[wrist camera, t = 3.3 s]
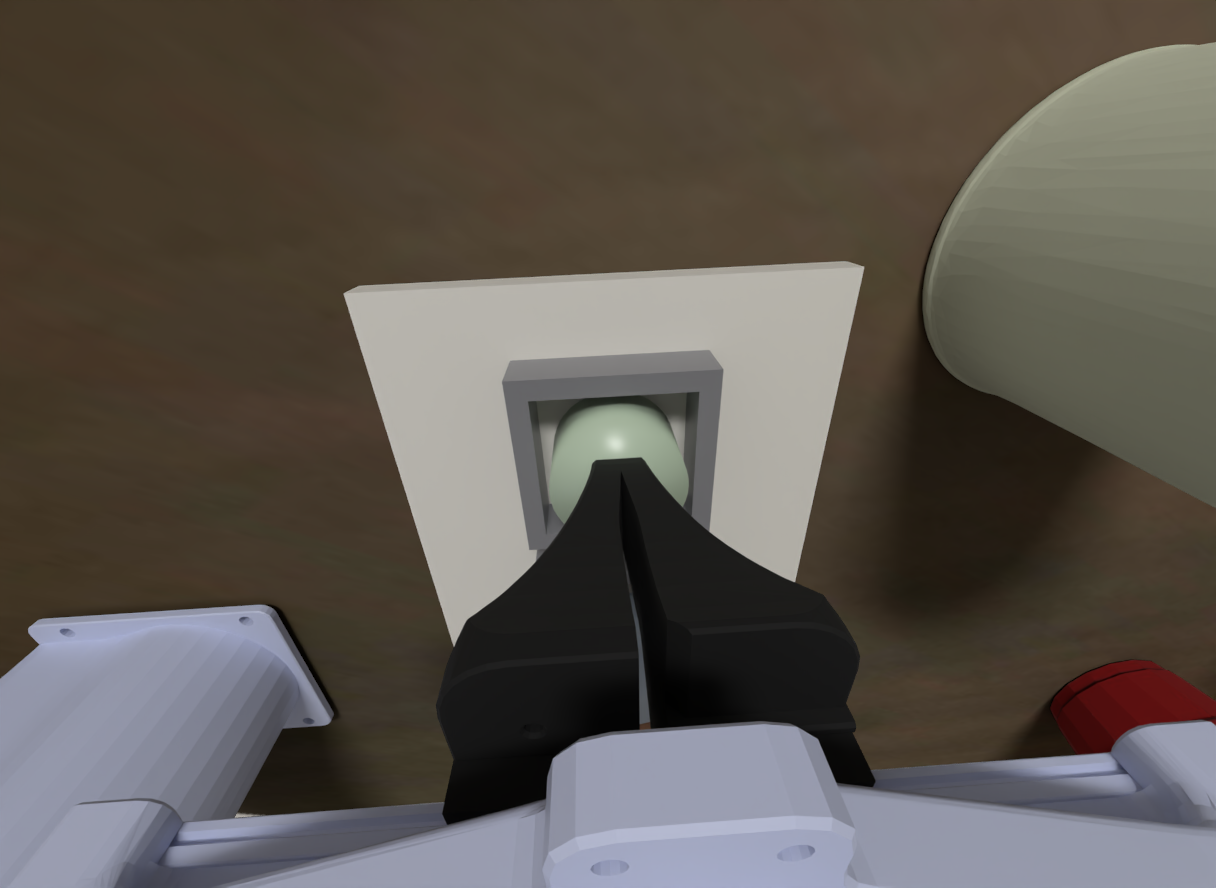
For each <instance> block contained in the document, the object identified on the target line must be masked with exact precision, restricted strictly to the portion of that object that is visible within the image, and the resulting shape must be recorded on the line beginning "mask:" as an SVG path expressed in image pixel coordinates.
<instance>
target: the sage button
mask: <svg viewBox="0 0 1216 888" xmlns="http://www.w3.org/2000/svg"><path fill="white" fill-rule="evenodd" d="M637 457H641V458H643V459H644V460H645V461H646V463H647V465H648V466H649V468H650V469H651V470H652V472H653V473H654V475H655V476H656V477H657V478H658V480H659V481H660V482H661V484H662V485H663V486H664V487H665V488H666V490H667V491H668V492H669V493H670V494H671V495H672V496H673V497H674V499H675V500H676V501H677V502H678V503H679V504H680V505H681V506H682V507H683V505H684V503H685V501H686V498H687V494H688V488H689V478H688V473H687V469H686V466H685V464H684V461H683V458H682V455H681V452H680V450H679V447H678V444H677V441H676V438H675V436H674V433H673V430H672V427H671V424H670V422H669V420H668V418H667V416H666V415H665V414H664V412H663V411H662V410H661V409H660V408H659V407H658V406H657V405H656V404H654V403H653V402H652V401H650V400H649V399H647V398H645V397H643V396H640V395H633V396H616V397H598V398H584V399H582V400H580V401H579V402H577V403H576V404H575V405H573V406H572V407H571V408H570V409H569V410H568V411H567V412H566V413H565V415H564V416H563V417H562V419H561V420H560V422H559V424H558V426H557V429H556V432H555V436H554V444H553V454H552V463H551V473H550V482H549V495H550V500H551V504H552V506H553V509H554V511H555V513H556V514H557V516H558V517H559V518H560V520H561V521H562V522H563V523H564V524H565V523H566V521H567V519H568V518H569V516H570V514H571V513H572V511H573V509H574V508H575V506H576V504H577V502H578V500H579V498H580V496H581V494H582V492H583V490H584V487H585V485H586V483H587V480H588V477H589V475H590V471H591V467H592V463H593V462H594V461H595V460H604V459H620V458H637Z"/></svg>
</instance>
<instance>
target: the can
mask: <svg viewBox="0 0 1216 888" xmlns="http://www.w3.org/2000/svg"><path fill="white" fill-rule="evenodd" d="M922 310H923V318H924V326H925V330H926V334H927V338H928V340H929V342H930V344H931V347H932V349H933V351H934V353H935V355H936V357H937V358H938V359H939V361H940V362H941V363H942V365H943V366H944V367H945V368H946V369H947V370H948V372H949V373H951V374H952V375H953V376H954V377H955V378H957V379H958V380H960V381H961V382H963V383H965V384H966V385H968V386H970V387H972V388H974V389H977V390H979V391H982V392H985V393H989V394H993V395H997V396H999V397H1001V398H1004V399H1006V400H1008V401H1010V402H1012V403H1014V404H1016V405H1019V406H1020V407H1022V408H1024V409H1026V410H1028V411H1030V412H1032V413H1034V414H1036V415H1038V416H1040V417H1042V418H1044V419H1046V420H1048V421H1050V422H1052V423H1054V424H1056V425H1058V426H1059V427H1061V428H1063V429H1065V430H1067V431H1069V432H1071V433H1073V434H1075V435H1077V436H1079V437H1081V438H1083V439H1085V440H1087V441H1089V442H1090V443H1092V444H1094V445H1096V446H1098V447H1100V448H1102V449H1104V450H1106V451H1108V452H1110V453H1111V454H1113V455H1115V456H1117V457H1119V458H1121V459H1123V460H1125V461H1127V462H1129V463H1131V464H1132V465H1134V466H1136V467H1138V468H1140V469H1142V470H1144V471H1146V472H1148V473H1150V474H1152V475H1153V476H1155V477H1157V478H1159V479H1161V480H1163V481H1165V482H1167V483H1169V484H1171V485H1173V486H1174V487H1176V488H1178V489H1180V490H1182V491H1184V492H1186V493H1188V494H1190V495H1192V496H1194V497H1195V498H1197V499H1199V500H1201V501H1203V502H1205V503H1207V504H1209V505H1211V506H1213V507H1215V508H1216V42H1215V43H1209V44H1203V45H1171V46H1163V47H1157V48H1151V49H1147V50H1143V51H1139V52H1135V53H1132V54H1129V55H1126V56H1122V57H1120V58H1117V59H1115V60H1112V61H1110V62H1107V63H1105V64H1102V65H1100V66H1098V67H1096V68H1094V69H1092V70H1090V71H1088V72H1087V73H1085V74H1083V75H1081V76H1079V77H1078V78H1076V79H1074V80H1073V81H1071V82H1069V83H1068V84H1066V85H1064V86H1063V87H1061V88H1059V89H1058V90H1056V91H1055V92H1053V93H1052V94H1051V95H1049V96H1048V97H1047V98H1045V99H1044V100H1043V101H1042V102H1040V103H1039V104H1038V105H1036V106H1035V107H1034V108H1032V109H1031V110H1030V111H1029V112H1028V113H1026V114H1025V115H1024V116H1023V117H1022V118H1021V119H1020V120H1019V121H1018V122H1017V123H1015V124H1014V125H1013V126H1012V127H1011V128H1010V129H1009V130H1008V131H1007V132H1006V133H1005V134H1004V135H1003V136H1002V137H1001V138H1000V139H999V140H998V141H997V142H996V143H995V145H994V146H993V147H992V148H991V149H990V151H989V152H988V153H987V154H986V155H985V156H984V158H983V159H982V160H981V161H980V162H979V163H978V165H977V166H976V168H975V169H974V170H973V172H972V173H971V174H970V176H969V177H968V178H967V180H966V181H965V183H964V184H963V186H962V187H961V189H960V191H959V192H958V194H957V195H956V197H955V199H954V201H953V202H952V204H951V206H950V208H949V210H948V212H947V214H946V216H945V217H944V219H943V222H942V224H941V227H940V229H939V231H938V234H937V236H936V239H935V241H934V243H933V246H932V250H931V253H930V256H929V260H928V263H927V267H926V272H925V278H924V285H923V305H922Z"/></svg>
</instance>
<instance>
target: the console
mask: <svg viewBox="0 0 1216 888" xmlns="http://www.w3.org/2000/svg"><path fill="white" fill-rule="evenodd" d="M863 271H864V267H863V266H860V265H857V264H853V263H850V262H847V261H841V262H821V263H801V264H781V265H761V266H741V267H722V268H702V269H682V270H662V271H642V272H622V273H603V274H583V275H563V276H543V277H523V278H503V279H484V280H464V281H444V282H424V283H404V284H384V285H364V286H358V287H356V288H354V289H352V290H350V291H347V292H345V293H344V296H345V299H346V303H347V306H348V309H349V312H350V315H351V319H352V322H353V325H354V328H355V332H356V335H357V338H358V341H359V344H360V348H361V351H362V354H363V357H364V360H365V364H366V367H367V370H368V373H369V376H370V380H371V383H372V386H373V389H374V392H375V396H376V399H377V402H378V405H379V408H380V412H381V415H382V418H383V421H384V424H385V428H386V431H387V434H388V437H389V440H390V444H391V447H392V450H393V453H394V457H395V460H396V463H397V466H398V469H399V473H400V476H401V479H402V482H403V485H404V489H405V492H406V495H407V498H408V501H409V505H410V508H411V511H412V514H413V517H414V521H415V524H416V527H417V530H418V533H419V537H420V540H421V543H422V546H423V549H424V553H425V556H426V559H427V562H428V565H429V569H430V572H431V575H432V578H433V581H434V585H435V588H436V591H437V594H438V598H439V601H440V604H441V607H442V610H443V614H444V617H445V620H446V623H447V626H448V630H449V633H450V636H451V639H452V642H453V646H455V643H456V641H457V639H458V637H459V635H460V632H461V630H462V628H463V626H464V624H465V622H466V620H467V619H468V618H470V617H471V616H473V615H474V614H476V613H477V612H478V611H480V610H481V609H483V608H484V607H485V606H487V605H488V604H489V603H491V602H492V601H493V600H495V599H496V598H497V597H499V596H500V595H501V594H502V593H504V592H505V591H506V590H507V589H508V588H509V587H510V586H511V585H512V584H513V583H515V582H516V581H517V580H518V579H519V578H520V577H521V576H522V575H523V574H524V573H525V572H526V571H527V570H528V569H529V568H530V567H531V566H532V565H533V564H534V563H535V562H536V561H537V559H538V558H539V557H540V556H541V555H542V554H543V552H544V551H545V550H546V549H547V548H548V547H549V545H550V544H551V543H552V541H553V540H554V539H555V537H556V536H557V535H558V533H559V532H560V530H561V529H562V527H563V526H564V523H563V522H562V521H561V520H560V518H559V517H558V516H557V514H556V513H555V511H554V509H553V506H552V504H551V500H550V495H549V482H550V473H551V463H552V454H553V444H554V436H555V432H556V429H557V426H558V424H559V422H560V420H561V419H562V417H563V416H564V415H565V413H566V412H567V411H568V410H569V409H570V408H571V407H572V406H573V405H575V404H576V403H577V402H579V401H580V400H582V399H584V398H598V397H616V396H633V395H640V396H643V397H645V398H647V399H649V400H650V401H652V402H653V403H654V404H656V405H657V406H658V407H659V408H660V409H661V410H662V411H663V412H664V414H665V415H666V416H667V418H668V420H669V422H670V424H671V427H672V430H673V433H674V436H675V438H676V441H677V444H678V447H679V450H680V452H681V455H682V458H683V461H684V464H685V466H686V469H687V473H688V478H689V488H688V494H687V498H686V501H685V503H684V505H683V508H684V509H685V510H686V511H687V512H688V513H689V514H690V515H691V516H692V517H693V518H694V519H695V520H696V521H697V522H698V523H700V524H701V525H702V526H703V527H704V528H705V529H707V530H708V531H709V532H710V533H712V534H713V535H714V536H715V537H717V538H718V539H720V540H721V541H722V542H724V543H725V544H727V545H728V546H730V547H731V548H733V549H734V550H736V551H737V552H739V553H740V554H742V555H743V556H745V557H747V558H748V559H750V560H752V561H754V562H755V563H757V564H759V565H761V566H762V567H764V568H766V569H768V570H770V571H772V572H774V573H776V574H778V575H780V576H782V577H784V578H786V579H788V580H790V581H793V582H795V579H796V575H797V570H798V566H799V561H800V557H801V552H802V548H803V543H804V539H805V534H806V529H807V525H808V520H809V516H810V511H811V507H812V502H813V498H814V493H815V489H816V484H817V480H818V475H819V470H820V466H821V461H822V457H823V452H824V448H825V443H826V439H827V434H828V430H829V425H830V421H831V416H832V411H833V407H834V402H835V398H836V393H837V389H838V384H839V380H840V375H841V371H842V366H843V362H844V357H845V353H846V348H847V343H848V339H849V334H850V330H851V325H852V321H853V316H854V312H855V307H856V303H857V298H858V294H859V289H860V284H861V280H862V275H863ZM623 556H624V551H623ZM624 563H625V570H626V576H627V582H628V589H629V593H632V589H631V584H630V580H629V575H628V570H627V565H626V561H625V556H624Z"/></svg>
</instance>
